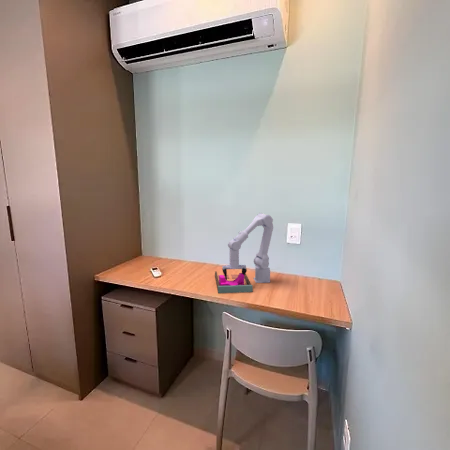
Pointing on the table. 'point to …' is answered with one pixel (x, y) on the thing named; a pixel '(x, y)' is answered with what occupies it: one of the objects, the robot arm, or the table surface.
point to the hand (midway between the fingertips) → (234, 279)
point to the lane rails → (218, 280)
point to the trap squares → (232, 276)
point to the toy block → (237, 281)
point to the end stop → (235, 289)
